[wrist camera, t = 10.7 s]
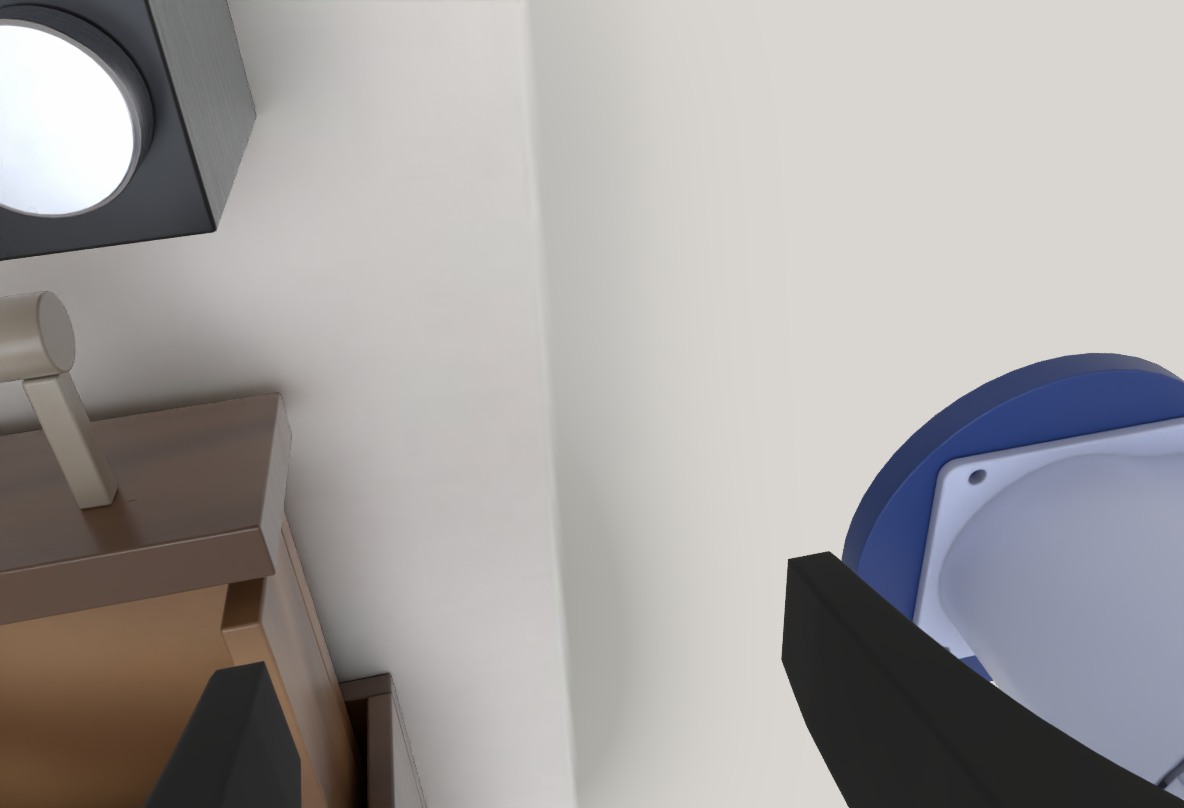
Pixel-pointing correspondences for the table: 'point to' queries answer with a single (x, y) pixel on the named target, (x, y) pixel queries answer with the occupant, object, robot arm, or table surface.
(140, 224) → the push button
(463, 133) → the table surface
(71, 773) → the drawer
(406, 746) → the cabinet
